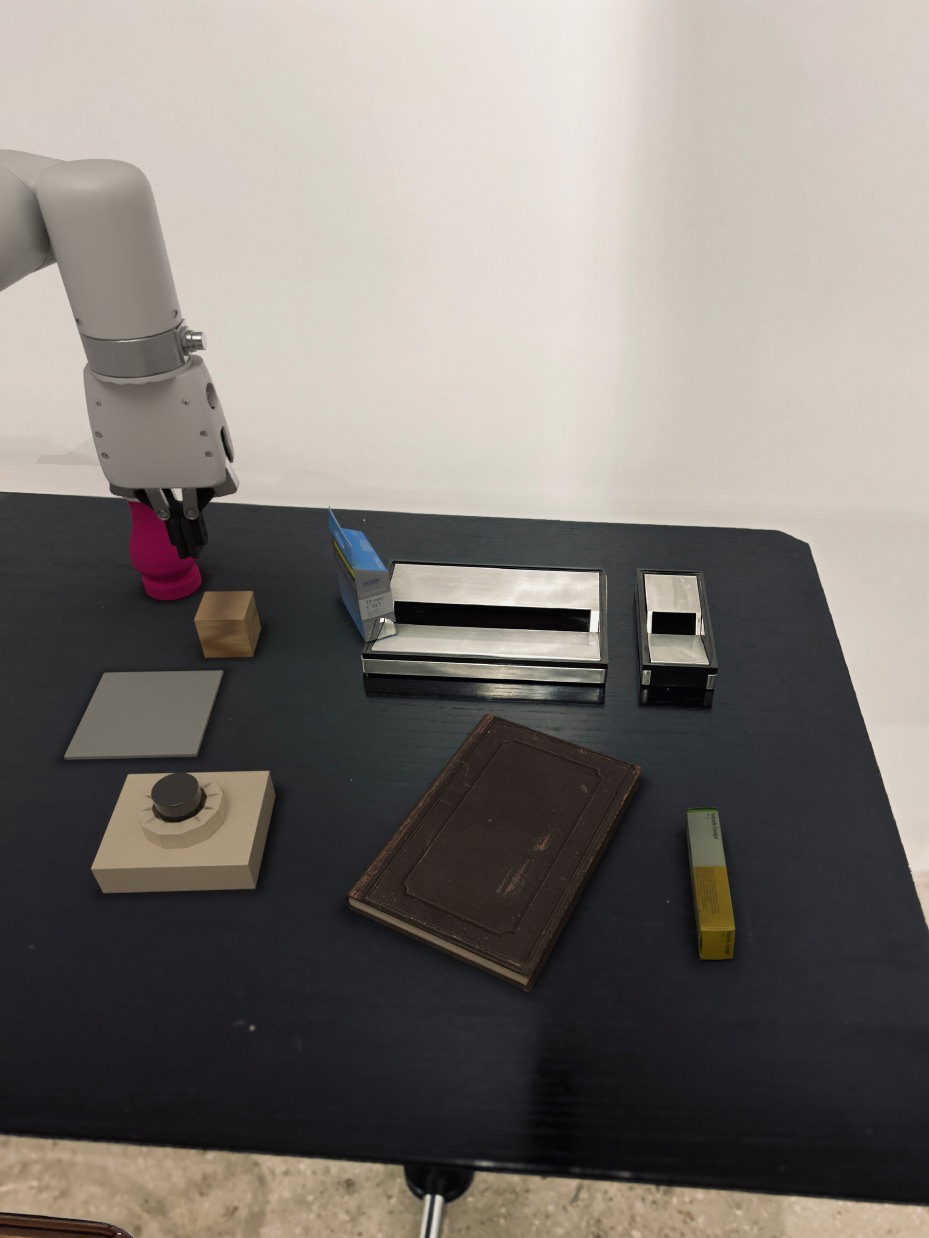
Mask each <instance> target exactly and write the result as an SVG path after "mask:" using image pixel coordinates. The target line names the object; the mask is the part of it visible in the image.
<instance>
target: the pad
mask: <svg viewBox="0 0 929 1238" xmlns="http://www.w3.org/2000/svg"><path fill="white" fill-rule="evenodd" d="M224 674H225V671H224V670H222V669H219V670H215V669H214V670H169V671H167V670H166V671H164V670H163V671H123V672H122V671H117V672H116V671H115V672H113V671H112V672H103V674H102V677H100V680H99V683H98V685H97V686H96V689H95V691H94V693H93V695H92V697H91V699H90V701H89V703H88V705H87V708H86V710H85V712H84V714H83V716H82V718H81V720H80V722H79V724H78V726H77V728H76V730H75V732H74V735H73V737H72V739H71V741H70V743H69V745H68V747H67V749H66V752H65V754H64V756H63V759H64V760H65V761H68V760H69V761H71V760H73V761H75V760H114V759H115V760H116V759H117V760H119V759H154V758H155V759H156V758H159V759H161V758H197V757H198V756H199V752H200V749H201V746H202V743H203V740H204V737H205V733H206V732H207V731H206V730H207V728H208V724H209V721H210V718H211V715H212V712H213V708H214V705H215V702H216V699H217V696H218V694H219V689H220V686H221V683H222V681H223V678H224Z"/></svg>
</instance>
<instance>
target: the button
mask: <svg viewBox="0 0 929 1238" xmlns="http://www.w3.org/2000/svg"><path fill="white" fill-rule="evenodd" d="M172 773H173V774H170V775H167V776H165V777H163V778H161V779H160V780H159V781H158V782H157V783H156V784H155V785H154V786H153V788H152V791H151V798H152V800H153V803H154V805H155V808H156V810H157V813H158V815H159V817H160V818H161V819H163V820H164V821H167V822H171V823H179V822H182V821H185V820H187V819H190V818H192V817H194V816H196V815H197V814H198V813H199V812H200V810H201V809H202V807H203V804H204V798H203V795H202V792H201V789H200V786H199V784H198V781H197V779H196V778H195V777H194V776H193V775H191V774H188V773H189V772H172Z"/></svg>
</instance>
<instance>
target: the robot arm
mask: <svg viewBox="0 0 929 1238" xmlns="http://www.w3.org/2000/svg"><path fill="white" fill-rule="evenodd" d="M164 237H165V236H164V233H163V229H162V225H161V220H160V216H159V212H158V207H157V204H156V200H155V195H154V192H153V189H152V185H151V183H150V181H149V179H148V177H147V176H146V174H145V173H144V172H143V171H142V169H141V168H139V167H137V166H136V165H134V164H133V163H130V162H126V161H123V160H119V159H111V158H109V159H108V158H87V159H75V160H74V159H73V160H64V159H58V158H54V157H49V156H45V155H39V154H36V153H31V152H27V151H21V150H14V149H4V148H2V149H0V293H1V292H2V291H5V290H6V289H8V288H9V287H11V286H13V285H14V284H16V283H17V282H19V281H21V280H22V279H24V278H26V277H27V276H29V275H31V274H33V273H36V272H38V271H41V270H43V269H45V268H48V267H50V266H52V265H54V264H57V268H58V271H59V274H60V277H61V280H62V283H63V287H64V290H65V294H66V296H67V299H68V302H69V303H68V304H69V306H70V309H71V312H72V316H73V319H74V322H75V325H76V328H77V331H78V335H79V338H80V341H81V345H82V348H83V351H84V354H85V357H86V360H87V362H86V364H85V366H84V368H83V370H82V372H83V373H82V374H83V375H82V377H83V388H84V395H85V403H86V410H87V416H88V421H89V426H90V431H91V435H92V439H93V443H94V448H95V450H96V451H95V452H96V455H97V459H98V462H99V465H100V467H101V470H102V473H103V475H104V477H105V479H106V480H107V482H108V485H109V486H108V488H109V492H110V493H111V494H112V495H113V496H115V497H121V498H123V497H126V498H132V499H134V498H136V499H138V500H139V501H140V502H142V503H143V504H145V505H146V506H148V507H149V508H151V509H152V510H154V511H155V513H156V515H157V517H158V518H159V519H161V520H164V523H165V526H166V530H167V533H168V536H169V540H170V543H171V545H172V546H176V548H177V552H178V555H179V558H180V559H187V557H191V558H192V559H197V560H198V559H199V558H200V556H201V553H202V551H203V548H204V546H207V545H208V543H209V532H208V528H207V523H206V521H205V516H204V513H203V510H204V509H205V508H206V507H208V505H209V503H210V502H211V501H212V500H213V499H215V498H221V497H227V496H229V495H234V494H236V493H237V491H238V489H239V486H240V480H239V477H237V476H238V475H237V474H236V472H235V470H234V468H233V465H232V464H233V463H234V460H235V450H234V446H233V441H232V436H231V433H230V429H229V426H228V423H227V420H226V415H225V412H224V410H223V407H222V404H221V401H220V398H219V395H218V391H217V389H216V386H215V383H214V382H213V378H212V376H211V374H210V372H209V369H208V367H207V364H206V363H205V361H204V359H203V357H202V356H201V355H198V354H193V353H197V352H198V351H206V350H207V348H208V346H207V345H208V343H207V336H206V334H205V332H204V331H195V330H194V329H190V328H189V325H187V321H186V318H183V315H182V311H181V307H180V302H179V299H178V294H177V293H178V292H177V288H176V285H175V281H174V277H173V272H172V268H171V264H170V259H169V255H168V250H167V246H166V241H165V238H164ZM175 489H181V498H182V502H180V501H179V500H178V497H177V495H176V492H175Z"/></svg>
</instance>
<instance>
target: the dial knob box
mask: <svg viewBox="0 0 929 1238" xmlns="http://www.w3.org/2000/svg"><path fill="white" fill-rule="evenodd" d="M173 773H174V772H165V773H164V772H163V773H162V772H161V773H129V774H127V775H126V779H125V781H124V784H123V786H122V788H121V791H120V793H119V796H118V799H117V801H116V804H115V807H114V809H113V812H112V814H111V817H110V819H109V822H108V824H107V827H106V829H105V832H104V834H103V837H102V839H101V842H100V845H99V847H98V850H97V852H96V854H95V858H94V860H93V862H92V865H91V867H90V870H91V872H92V874H93V876H94V878H95V880H96V882H97V884H98V886H99V888H100V890H101V892H102V894H122V893H123V894H125V893H126V894H127V893H159V892H161V893H162V892H188V891H189V892H194V891H224V890H225V891H226V890H255V889H256V887H257V883H258V879H259V875H260V870H261V865H262V861H263V855H264V852H265V847H266V840H267V837H268V832H269V827H270V823H271V819H272V814H273V809H274V804H275V800H276V796H277V795H276V791H275V787H274V783H273V780H272V777H271V772H270V770H249V771H248V770H247V771H243V770H242V771H211V772H210V771H208V772H207V771H205V772H200V771H199V772H187V773H188V774H191V775H193V776H194V777H195V778H196V779H197V781H198V784H199V786H200V789H201V792H202V795H203V798H204V804H203V807H202V809H201V810H200V812H199V813H198V814H197V815H196V816H194V817H192V818H190V819H187V820H185V821H182V822H179V823H171V822H167V821H164V820H163V819H161V818H160V817H159V815H158V813H157V810H156V808H155V805H154V803H153V800H152V798H151V791H152V788H153V786H154V785H155V784H156V783H157V782H158V781H159V780H160V779H161V778H163V777H165V776H167V775H170V774H173Z"/></svg>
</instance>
